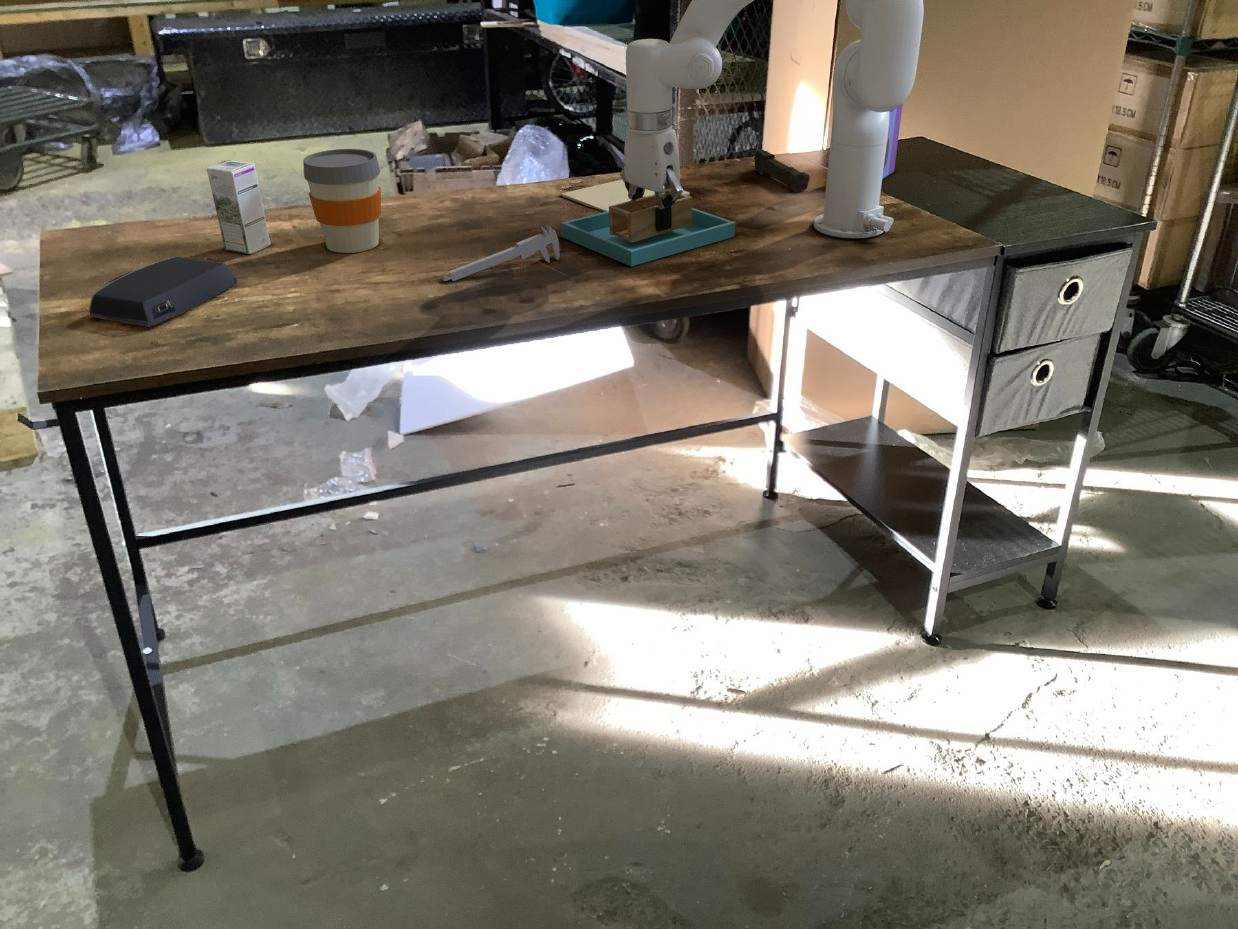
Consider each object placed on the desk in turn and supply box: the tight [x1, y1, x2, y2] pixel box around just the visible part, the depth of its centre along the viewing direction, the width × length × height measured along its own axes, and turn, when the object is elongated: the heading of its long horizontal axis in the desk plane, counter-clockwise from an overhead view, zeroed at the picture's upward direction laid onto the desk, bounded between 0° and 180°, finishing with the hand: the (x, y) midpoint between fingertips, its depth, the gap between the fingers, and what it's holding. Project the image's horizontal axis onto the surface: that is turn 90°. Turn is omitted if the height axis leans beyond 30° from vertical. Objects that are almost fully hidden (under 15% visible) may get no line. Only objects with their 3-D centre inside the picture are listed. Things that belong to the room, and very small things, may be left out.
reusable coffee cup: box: [302, 148, 382, 254], centre depth 175 cm, size 12×13×15 cm
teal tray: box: [560, 207, 736, 267], centre depth 180 cm, size 20×24×3 cm
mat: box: [560, 179, 691, 212], centre depth 202 cm, size 16×20×1 cm
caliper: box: [441, 224, 561, 282], centre depth 165 cm, size 20×1×6 cm, turn 118°
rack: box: [609, 192, 693, 243], centre depth 178 cm, size 6×14×5 cm, turn 129°
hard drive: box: [88, 255, 239, 328], centre depth 156 cm, size 13×19×4 cm
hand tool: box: [753, 149, 810, 194], centre depth 209 cm, size 19×4×5 cm, turn 19°
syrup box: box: [206, 159, 272, 255], centre depth 174 cm, size 6×6×14 cm
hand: (651, 223), depth 179 cm, fingers closed on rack, 6 cm apart
